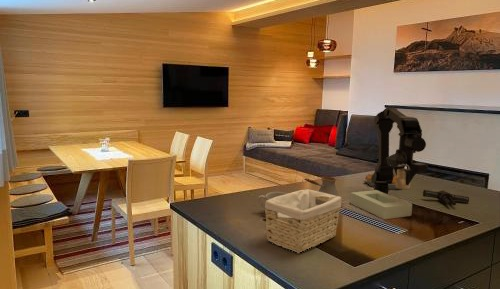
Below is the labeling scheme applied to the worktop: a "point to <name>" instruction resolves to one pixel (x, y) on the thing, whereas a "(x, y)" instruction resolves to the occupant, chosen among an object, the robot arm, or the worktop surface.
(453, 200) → the black irregular piece
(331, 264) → the worktop surface
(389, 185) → the pie
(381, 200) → the well box
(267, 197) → the teacup
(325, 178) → the coffee pot
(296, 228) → the storage basket
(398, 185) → the wooden block
